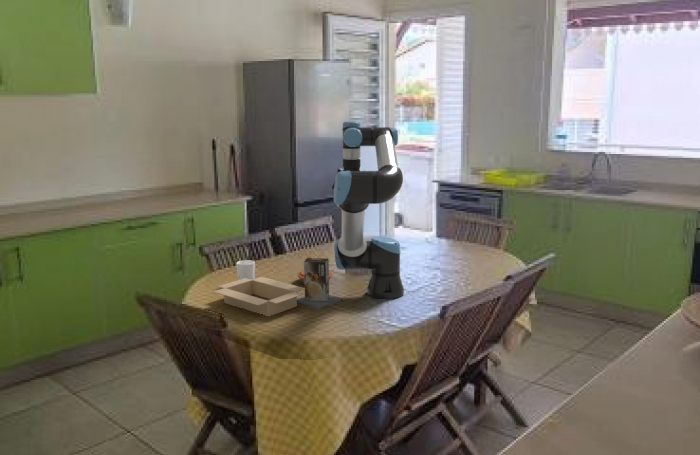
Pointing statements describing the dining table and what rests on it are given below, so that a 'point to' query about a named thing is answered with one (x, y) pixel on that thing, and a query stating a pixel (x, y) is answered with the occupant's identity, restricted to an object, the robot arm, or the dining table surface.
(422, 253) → the dining table surface
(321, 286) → the coffee box
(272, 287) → the carton
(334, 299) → the mat
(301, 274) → the pie
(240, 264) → the white cup
